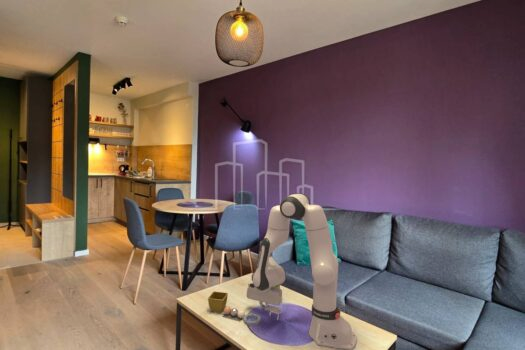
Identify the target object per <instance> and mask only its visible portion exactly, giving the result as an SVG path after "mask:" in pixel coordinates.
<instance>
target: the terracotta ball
mask: <svg viewBox="0 0 525 350" xmlns="http://www.w3.org/2000/svg"><path fill="white" fill-rule="evenodd" d="M231 310H232V308H231V307H230V306H225V308H224V309H223V313H224V314H226V315H228V314H230V312H231Z"/></svg>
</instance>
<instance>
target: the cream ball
mask: <svg viewBox="0 0 525 350" xmlns="http://www.w3.org/2000/svg"><path fill="white" fill-rule="evenodd" d="M237 315H238V317H239V318H243V317H244V316H245V315H246V311H245V310H243V309H241V310H238V313H237Z"/></svg>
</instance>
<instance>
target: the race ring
mask: <svg viewBox="0 0 525 350" xmlns="http://www.w3.org/2000/svg"><path fill="white" fill-rule="evenodd" d="M252 318H253V319H256V320H253V321H251V320H249V319H252ZM242 321H243V323H244V325H246V326H250V327H251V326H252V327H253V326H257V325H259V324H260V323H261V321H262V320H261V317H260V315H259V314H255V313H248V314H245V316H244V317H243V319H242Z"/></svg>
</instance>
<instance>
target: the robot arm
mask: <svg viewBox="0 0 525 350" xmlns="http://www.w3.org/2000/svg"><path fill="white" fill-rule="evenodd" d="M291 220H297V221H300V220H302V221H303V224H304V229H305V232H306V237H307V241H308V247H309V258H310V265H311V274H312V278H313V280H314V281H313V289H312V294H313V295H312V304H311V323H310V327H309V329H308V335H309V337H310V338H311V339H312V340H314V342H315V344H317V345H318V346H322V347H328V348H335V349H340V350H353V349H355V347H356V345H357V342H358V341H357V340H358V339H357V334H356V333H355V332H354V331H353V330H352V326H351V324H350V322H349V321H347V320H346V319H345V318H344V317H343V316H342V315H341V307H339V308H338V307H337V292H338V291H337V290H338V281H339V280H338V277H339V260H338V258H337V256H336V254H335V253H334V249H333V241H332V236H331V233H330V227H329V223H328V220H327V216H326V214H325V212H324V208H323V207H322V206H321V205H318V204H311V201H310V198H309V197H308V195H306V194H305V193H301V192H300V193H295V194H290V195H288V196H286V197H284V198H283V199H282V200H281V202H280V205H279V204H278V205H275V206H273V207H271V208H270V211H269V216H268V222H267V229H266V233H265V236H264V238H263V239H262V241H261V242H260V246H259V250H258V255H257V260H256V264H255V269H254V270H253V271H254V272H253V273H254V274H253V273H252V274H253V278H252V277H251V280H250V281H249V282H248V284H247V286H248V287H247V289H246V298H247V299H249V300H253V301H257V302H258V303H259V305H260V310H263V311H267V306H268V305H272V306H276V307H279V306H281V305H282V304H283V290H282V289H281V287H280V288H278V287H274V286H276V285H279V284H280V285H281V284H283V283H285V281H286V278H287V271H286V270H285V268H284V267H283V266H282V265H279V264H278V263H277V262H276V261H275V260H274V258H273V256H272V255H271V254H272V253H273V252H274V251H275V250H276V249H278V247H280V246H282V245H283V244H285V243H286V242H287V240H288V238H289V236H290V225H291V224H290V223H291V222H290V221H291Z"/></svg>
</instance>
